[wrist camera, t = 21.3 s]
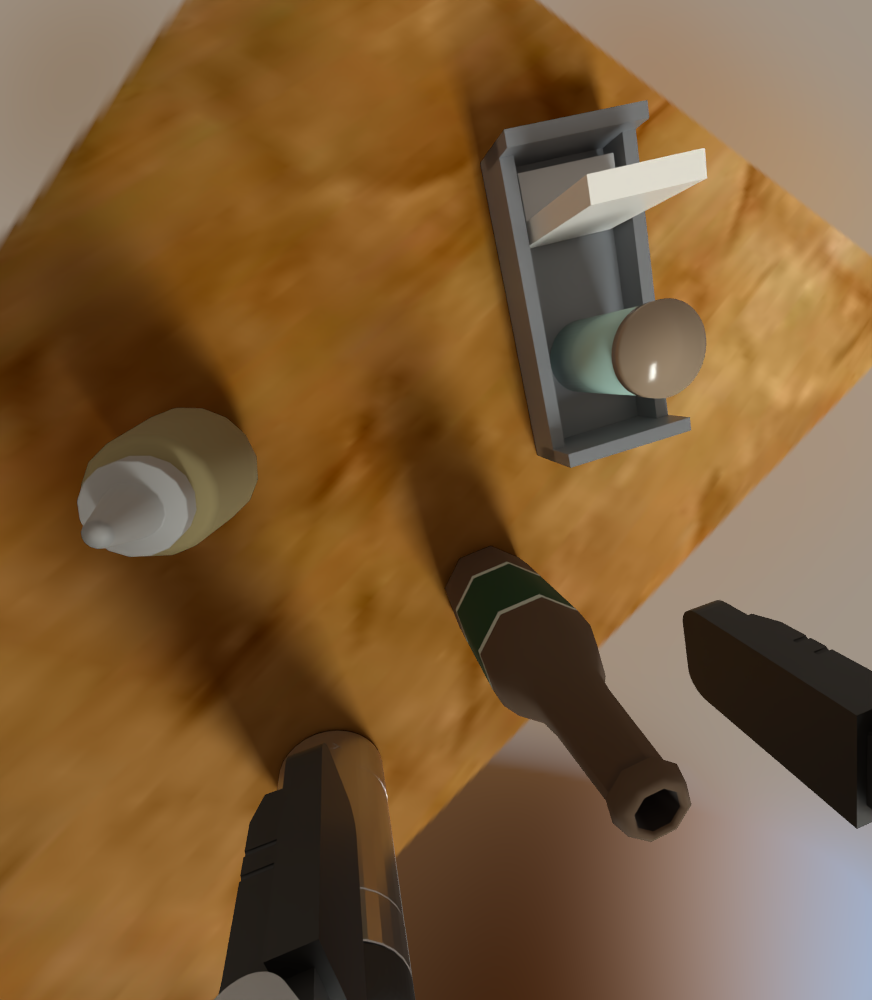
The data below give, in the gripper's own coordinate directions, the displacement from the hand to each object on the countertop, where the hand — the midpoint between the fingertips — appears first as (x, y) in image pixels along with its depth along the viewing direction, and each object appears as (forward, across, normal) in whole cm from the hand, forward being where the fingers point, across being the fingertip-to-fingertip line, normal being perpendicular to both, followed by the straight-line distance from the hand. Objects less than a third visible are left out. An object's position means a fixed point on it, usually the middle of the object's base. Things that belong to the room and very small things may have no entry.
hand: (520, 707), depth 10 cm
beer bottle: (+30, -6, +13) cm, 34 cm away
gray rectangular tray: (+30, -18, -8) cm, 36 cm away
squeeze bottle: (+30, +12, -4) cm, 33 cm away
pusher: (+29, -18, -15) cm, 37 cm away
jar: (+29, -18, -4) cm, 34 cm away
